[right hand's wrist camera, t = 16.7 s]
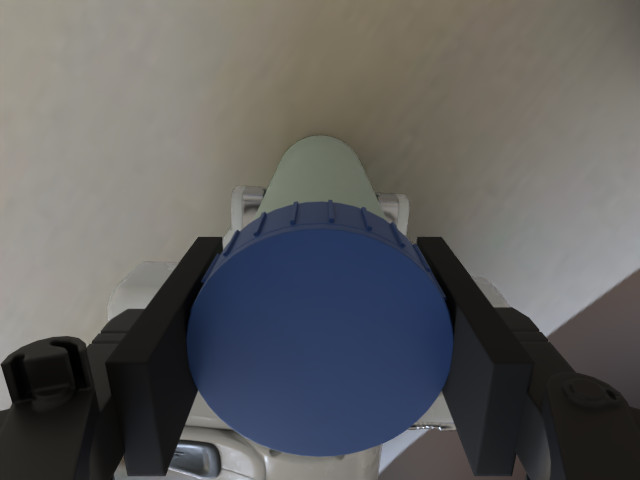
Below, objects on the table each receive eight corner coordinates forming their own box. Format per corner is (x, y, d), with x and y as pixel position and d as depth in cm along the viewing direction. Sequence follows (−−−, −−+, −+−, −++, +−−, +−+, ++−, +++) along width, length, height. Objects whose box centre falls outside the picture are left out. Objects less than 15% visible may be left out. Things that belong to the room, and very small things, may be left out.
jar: (370, 142, 27) (456, 258, 10) (355, 225, 29) (404, 442, 12) (282, 128, 27) (216, 223, 10) (272, 213, 28) (201, 418, 12)
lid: (461, 217, 11) (491, 248, 9) (407, 413, 14) (422, 473, 12) (213, 181, 11) (189, 204, 9) (199, 388, 13) (177, 444, 11)
